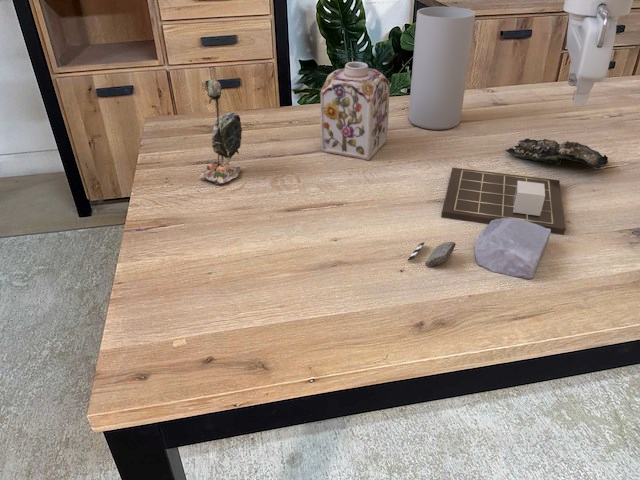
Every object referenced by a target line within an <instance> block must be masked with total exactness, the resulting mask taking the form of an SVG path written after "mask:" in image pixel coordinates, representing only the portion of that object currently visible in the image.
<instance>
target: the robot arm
mask: <svg viewBox="0 0 640 480" xmlns="http://www.w3.org/2000/svg"><path fill="white" fill-rule="evenodd" d="M633 2H634V0H564V2H563V3H564V4H563V8H562V9H563V11H564V13H565V12H566V13H568V14H569V16H568V24H567V32H566V50H567V52H568V56H569V58H570V61H569V74H568V78H567V83H568V85H569V86H570V87H575V90H574V92H573V97H572V103H573V104H574V105H575V106H585V105H587V103H588V99H589V95H590V93H591V91H592V89H593V87H594V86H595V83H602V82H604V81H605V79H606V77H607V74H608V72H609V68H610V62H611V58H612V54H613V49H614V45H615V40H616V33H617V24H618V21H619V19H620V17H622V16H626V15H629V14H630V13H631V10H632V6H633Z"/></svg>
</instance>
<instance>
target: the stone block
mask: <svg viewBox="0 0 640 480" xmlns="http://www.w3.org/2000/svg"><path fill="white" fill-rule="evenodd" d="M550 232H551V229H548V228H544V227H542V226H540V225H537V224H533V223H531V222H529V221H524V220H520V219H516V218H501V219H495V220H492V221H491V222H490V224H487V225H486V226H485V227H484V228H483V230H482V231H481V232H480V233H479V235H478V236H477V238H476V239H475V247H474V257H475V260H476V263H477V264H478V265H479V266H481V267H483V268H485V269H487V270H489V271H491V272H493V273H498V274H503V275H507V276H512V277H514V278H515V277H517V278H522V279H524V280H531V279H533V277H535V274H536V272H537V269H538V267H539V264H540V262H541V260H542V257H543V255H544V253H545V251H546V248H547V246H548V243H549V240H550V236H551V233H550Z"/></svg>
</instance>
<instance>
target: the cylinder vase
mask: <svg viewBox="0 0 640 480" xmlns="http://www.w3.org/2000/svg"><path fill="white" fill-rule="evenodd" d="M475 19H476V12H475V11H474V10H473V9H468V8H464V7H457V6H429V7H423V8H419V9H418V10H416V18H415V20H416V21H415V32H414V33H415V34H414V44H413V45H414V46H413V57H412V68H411V69H412V70H411V81H410V92H409V105H408V118H407V119H408V121H409V122H410V123H411V124H412V126H415V127H418V128H421V129H424V130H430V131H431V130H432V131H443V130H444V131H445V130H451V129H453V128H455V127H457V126H458V125H460V123H461V120H462V112H463V106H464V98H465V91H466V86H467V85H466V84H467V76H468V69H469V63H470V55H471V49H472V43H473V42H472V41H473V34H474V27H475Z"/></svg>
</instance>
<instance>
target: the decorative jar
mask: <svg viewBox="0 0 640 480" xmlns="http://www.w3.org/2000/svg"><path fill="white" fill-rule="evenodd" d="M390 86H391V82H390V81H389V80H388V79H387V77H386V75H385V74H383V73H382V72H381V71H379V70H378V69H375V68H369V64H368V63H366V62H362V61H350V62H347V63H346V64H345V66H344V68H338V69H336V70H334V71H332V72H331V73H329V74H328V75H327V77H326V80H325V81H324V83H323V85H322V88H321V89H320V133H319V134H320V150H321V152H322V153H327V154H333V155H339V156H343V157H349V158H354V159H360V160H364V161H370V160H371V159H372V158H373V157H374V156H375V155H376V154H377V153H378V151H379V150H380V149H381V148H382V147H383V146H384V145H385V144H386V142H387V141H388V129H389V115H390V114H389V112H390Z"/></svg>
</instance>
